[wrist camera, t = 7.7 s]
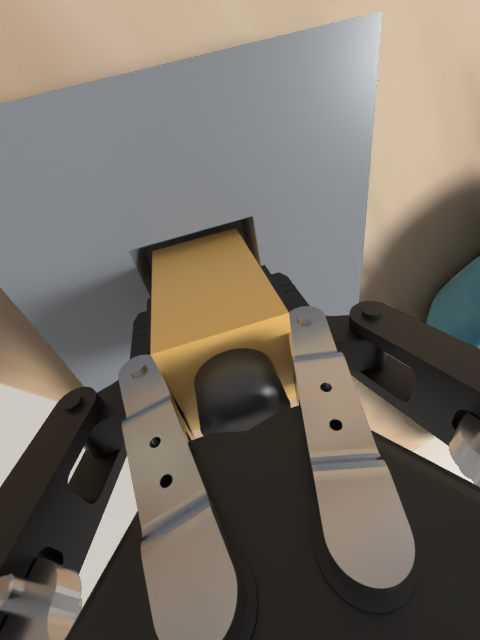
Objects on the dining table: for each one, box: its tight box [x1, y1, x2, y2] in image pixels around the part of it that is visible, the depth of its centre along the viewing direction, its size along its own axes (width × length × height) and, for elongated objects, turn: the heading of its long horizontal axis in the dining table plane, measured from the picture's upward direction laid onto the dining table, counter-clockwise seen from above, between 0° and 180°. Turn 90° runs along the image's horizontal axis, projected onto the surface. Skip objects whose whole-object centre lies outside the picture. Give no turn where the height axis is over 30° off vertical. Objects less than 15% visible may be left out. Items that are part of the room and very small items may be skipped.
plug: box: [150, 228, 296, 436], centre depth 11 cm, size 4×4×8 cm
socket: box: [0, 11, 383, 393], centre depth 15 cm, size 16×16×4 cm
